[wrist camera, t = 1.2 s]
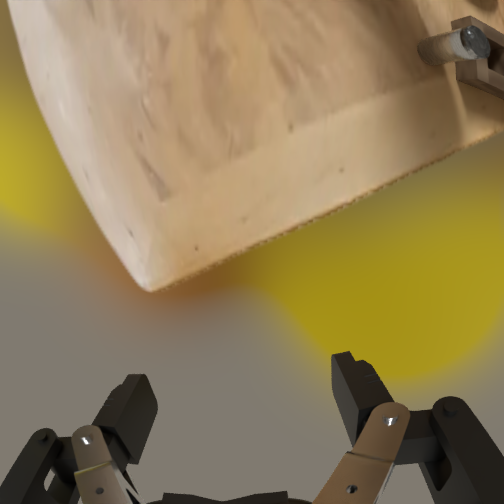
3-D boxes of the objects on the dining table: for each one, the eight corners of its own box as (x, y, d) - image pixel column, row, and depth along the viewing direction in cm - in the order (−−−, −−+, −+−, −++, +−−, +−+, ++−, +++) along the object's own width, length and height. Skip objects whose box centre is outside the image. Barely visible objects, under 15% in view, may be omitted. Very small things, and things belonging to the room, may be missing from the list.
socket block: (450, 21, 24) (470, 15, 19) (513, 55, 24) (532, 54, 19) (456, 79, 28) (477, 78, 23) (517, 106, 28) (536, 109, 23)
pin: (416, 36, 26) (463, 20, 16) (439, 43, 26) (488, 32, 16) (418, 61, 27) (468, 51, 18) (440, 68, 27) (491, 63, 18)
